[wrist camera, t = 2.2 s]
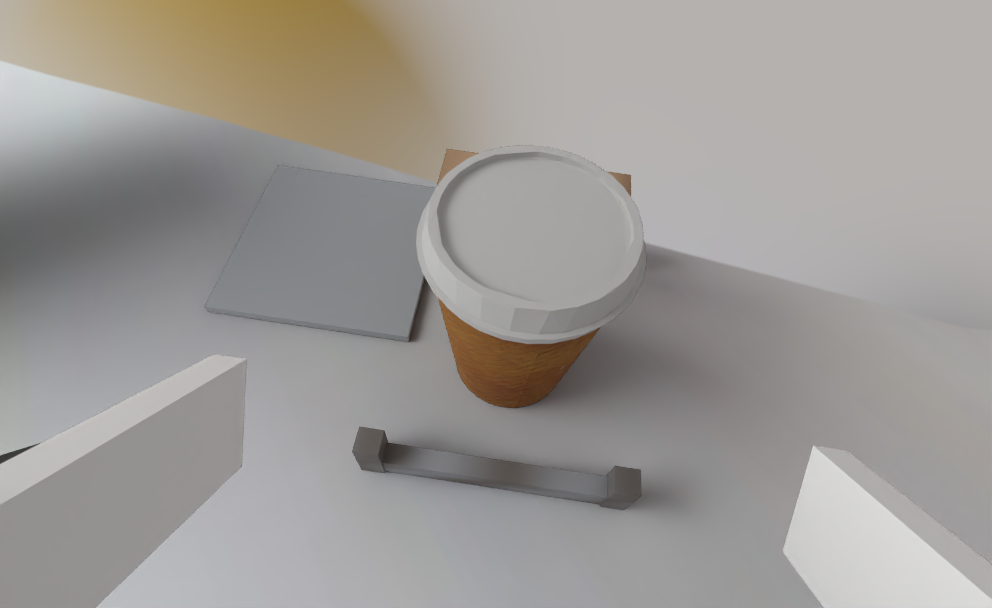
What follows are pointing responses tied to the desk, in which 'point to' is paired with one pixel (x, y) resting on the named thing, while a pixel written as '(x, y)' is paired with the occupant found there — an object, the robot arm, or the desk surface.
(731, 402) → the desk surface
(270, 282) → the grey mat
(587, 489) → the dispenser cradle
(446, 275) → the disposable coffee cup
